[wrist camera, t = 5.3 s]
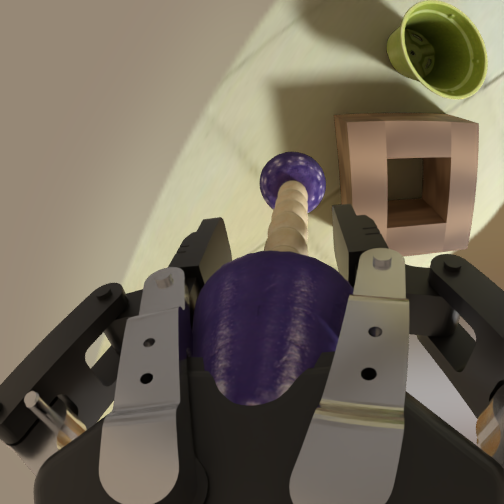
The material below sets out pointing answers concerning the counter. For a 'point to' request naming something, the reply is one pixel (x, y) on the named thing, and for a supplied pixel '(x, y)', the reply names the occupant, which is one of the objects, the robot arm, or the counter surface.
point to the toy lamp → (272, 296)
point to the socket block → (434, 176)
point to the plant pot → (439, 50)
